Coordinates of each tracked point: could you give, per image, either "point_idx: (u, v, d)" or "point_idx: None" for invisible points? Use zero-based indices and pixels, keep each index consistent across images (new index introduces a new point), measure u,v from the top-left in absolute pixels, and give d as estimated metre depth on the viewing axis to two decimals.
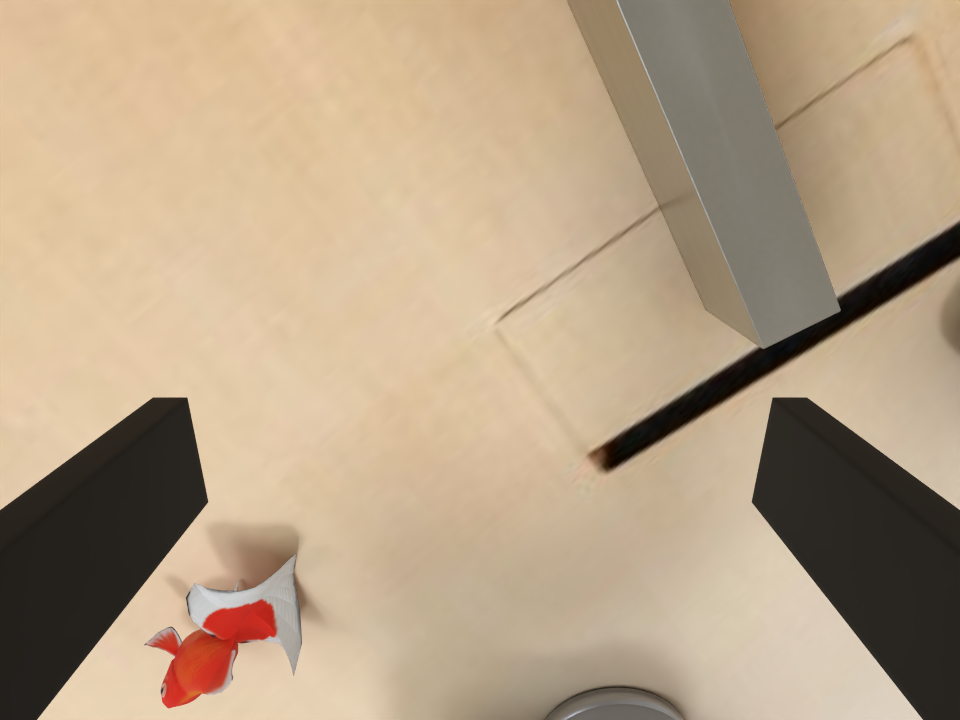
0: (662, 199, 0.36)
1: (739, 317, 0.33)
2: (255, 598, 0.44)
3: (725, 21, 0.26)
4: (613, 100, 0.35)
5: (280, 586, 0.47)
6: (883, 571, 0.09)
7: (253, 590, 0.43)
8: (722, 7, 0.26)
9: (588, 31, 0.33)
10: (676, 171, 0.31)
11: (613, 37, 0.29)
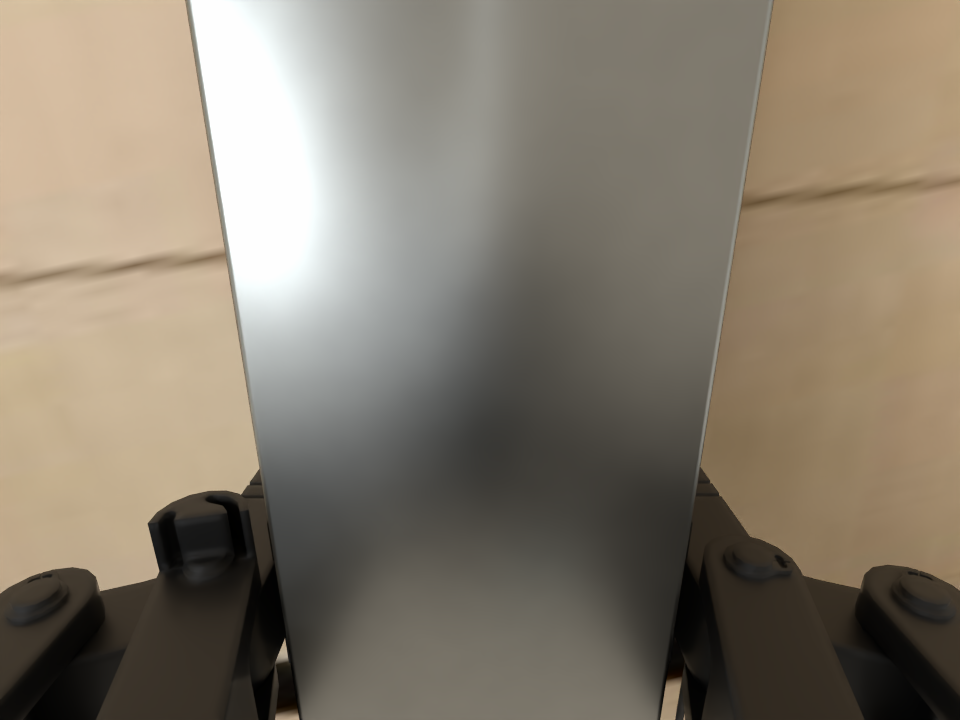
0: None
1: None
2: None
3: None
4: None
5: None
6: None
7: None
8: None
9: None
10: None
11: None
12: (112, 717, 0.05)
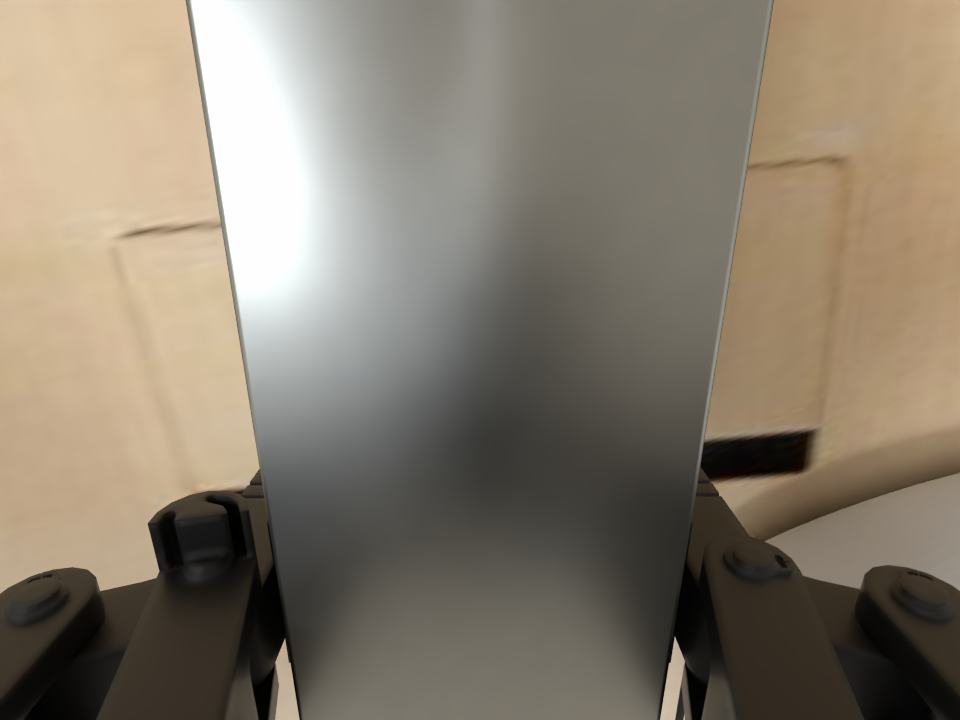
0: None
1: None
2: None
3: None
4: None
5: None
6: None
7: None
8: None
9: None
10: None
11: None
12: (112, 717, 0.05)
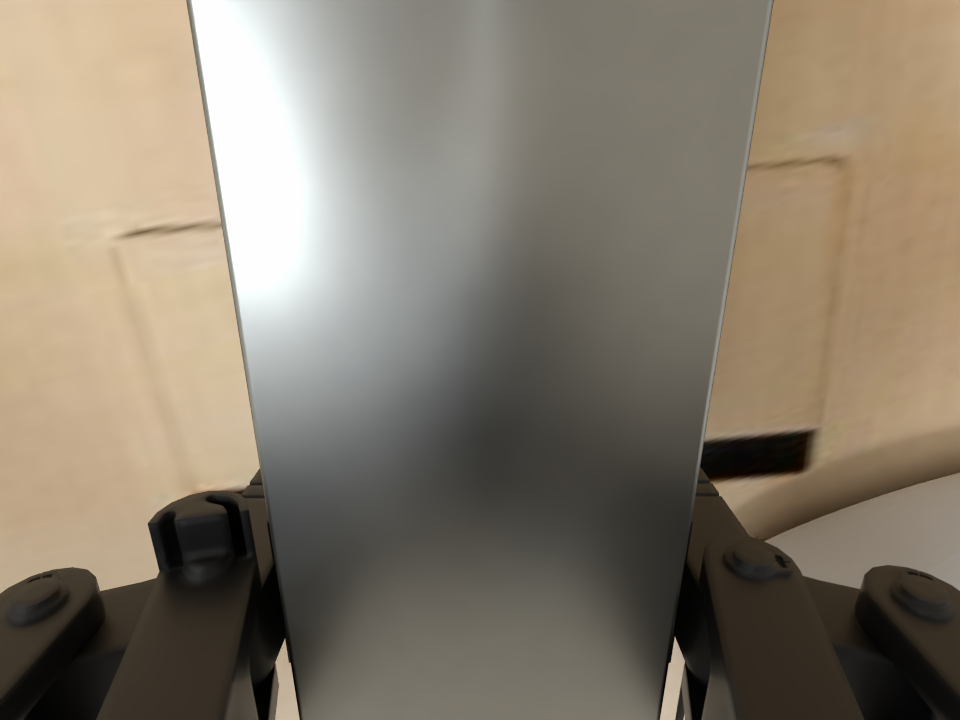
0: None
1: None
2: None
3: None
4: None
5: None
6: None
7: None
8: None
9: None
10: None
11: None
12: (111, 717, 0.05)
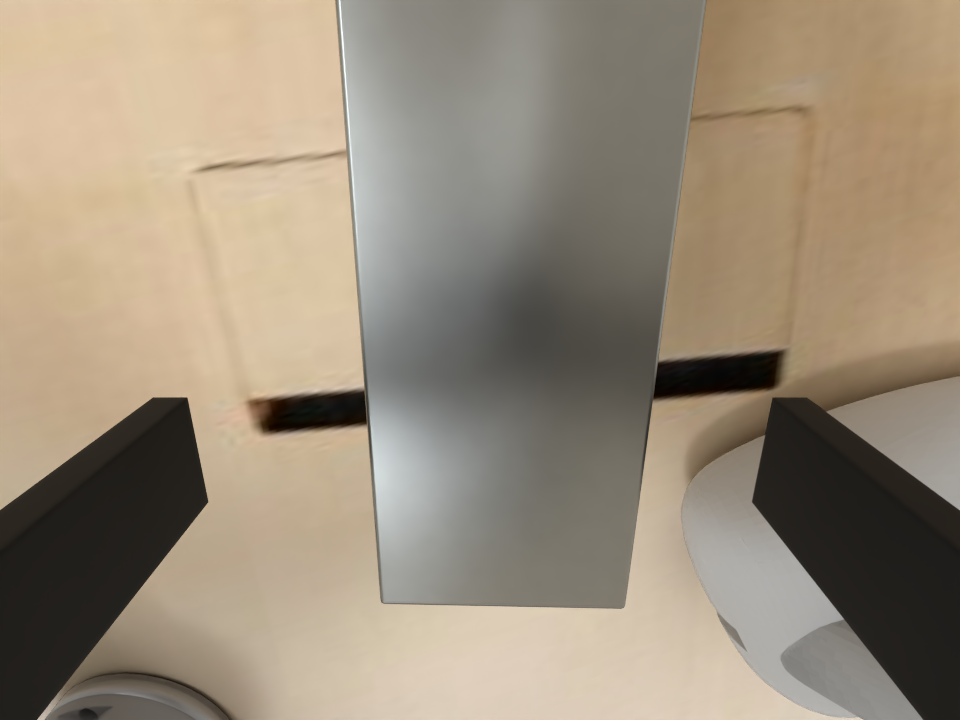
0: None
1: None
2: None
3: None
4: None
5: None
6: (883, 571, 0.09)
7: None
8: None
9: None
10: None
11: None
12: None
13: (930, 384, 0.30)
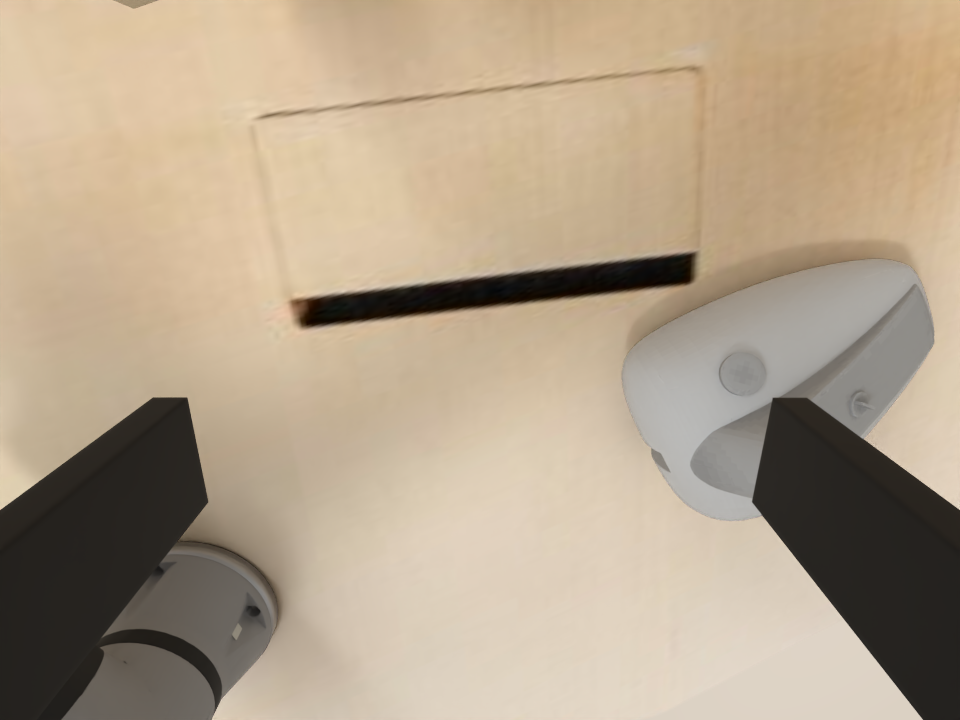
0: None
1: None
2: None
3: None
4: None
5: None
6: (883, 571, 0.09)
7: None
8: None
9: None
10: None
11: None
12: None
13: (799, 271, 0.41)
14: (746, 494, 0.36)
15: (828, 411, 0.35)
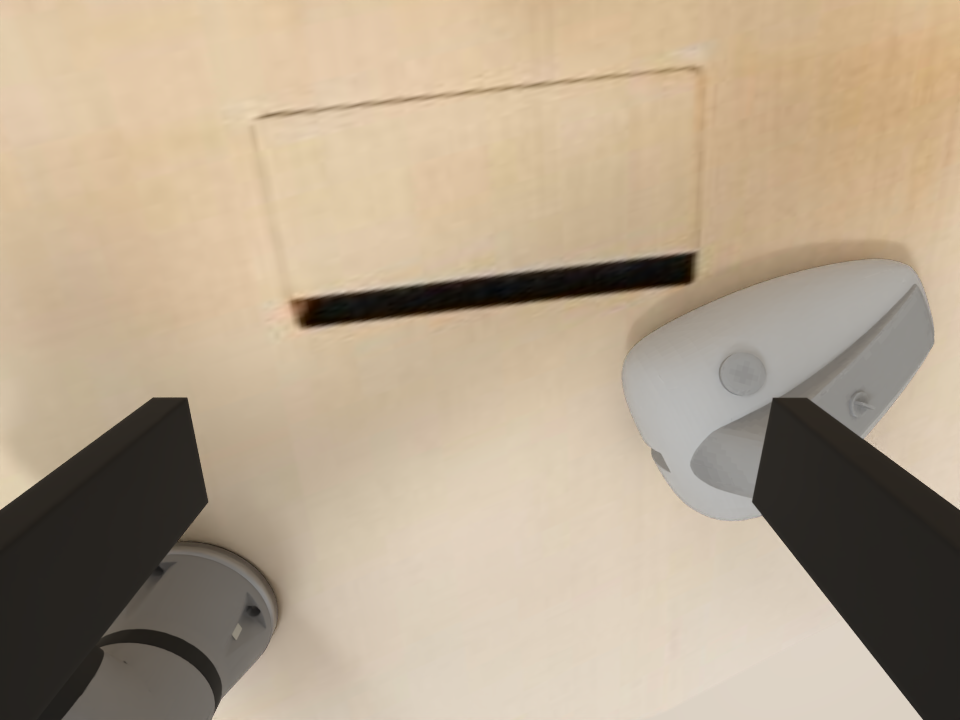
0: None
1: None
2: None
3: None
4: None
5: None
6: (883, 571, 0.09)
7: None
8: None
9: None
10: None
11: None
12: None
13: (799, 271, 0.41)
14: (746, 494, 0.36)
15: (828, 411, 0.35)
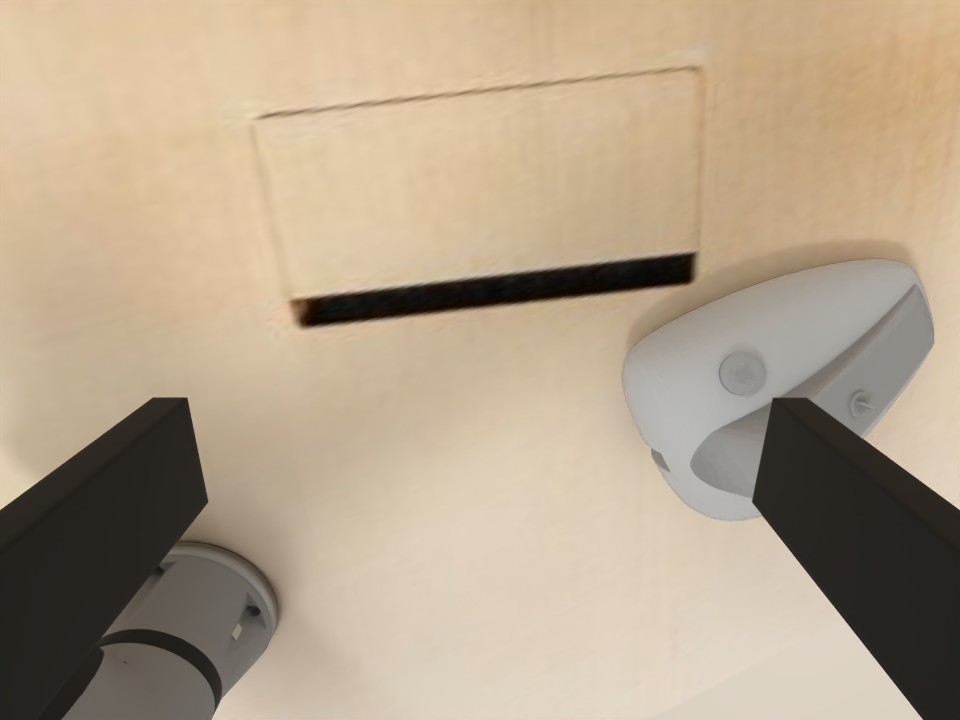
0: None
1: None
2: None
3: None
4: None
5: None
6: (883, 571, 0.09)
7: None
8: None
9: None
10: None
11: None
12: None
13: (799, 271, 0.41)
14: (746, 494, 0.36)
15: (828, 411, 0.35)
